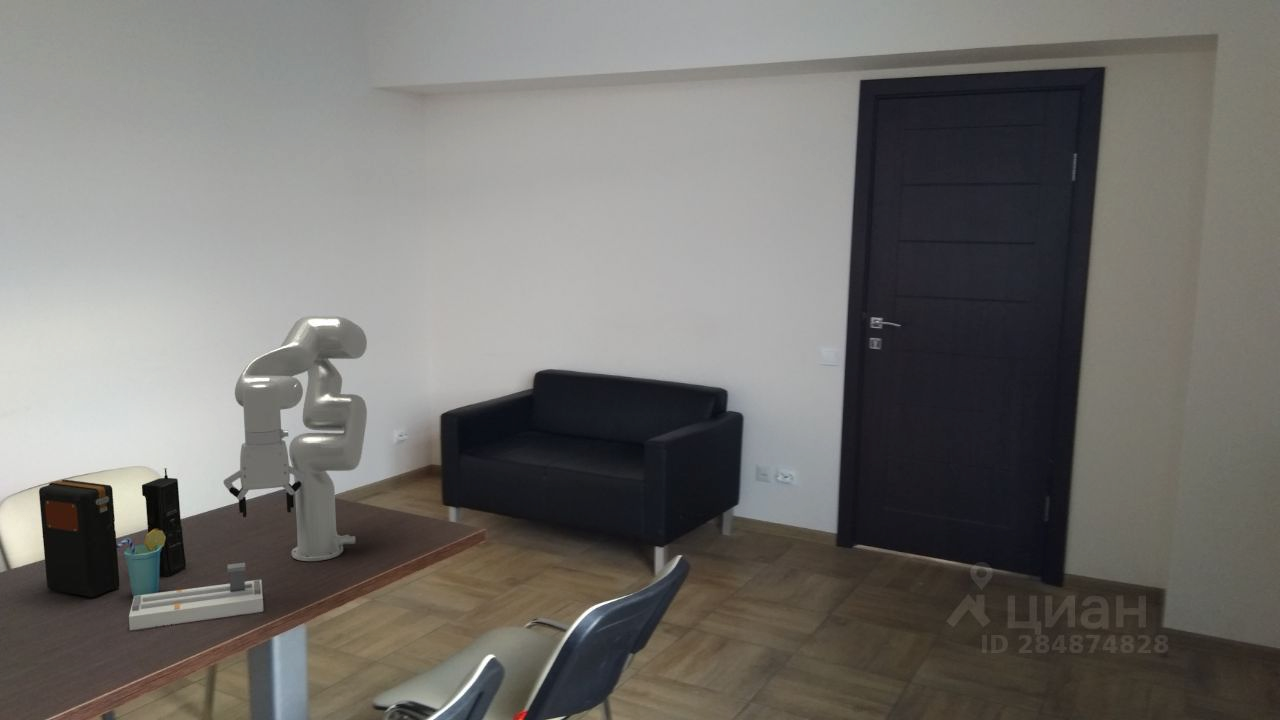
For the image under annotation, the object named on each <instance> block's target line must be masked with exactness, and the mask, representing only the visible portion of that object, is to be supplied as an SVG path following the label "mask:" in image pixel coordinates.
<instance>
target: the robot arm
mask: <svg viewBox="0 0 1280 720" xmlns="http://www.w3.org/2000/svg"><path fill="white" fill-rule="evenodd" d="M366 335H367V334H366V333H365V331H364V330H363V329H362V327H361V326H359V325H358V324H356V323H354V322H353V321H352V320H349V319H347V318H346V317H341V316H316V315H315V316H313V315H312V316H305V317H301V318H299V319H297V321H296V322H295V323H294V324H293V325H292V327H291V328H290V330H289V332H288V333H287V336H285V339H284V340H283V342H282V343H281V345H280V346H279V347H276V348H274V349H272V350H270V351H267V352H266V353H263V354H262V355H260V356H258V357H257V358H254V359H253V360H252V361H250V362H249V363H248V364H247V365H246V366H245V367H244V369H243V371H242V373H241V374H240V375H239V377H238V379H237V381H236V384H235V387H234V397H235V400H236V402H237V404H238V405H239V406H240V407H242V408H243V424H244V426H243V427H244V442H243V443H241V448H240V454H239V455H240V456H239V457H240V458H239V465H240V466H239V470H238V471H236V472H234V473H233V474H231V475H230V476H228V477H227V478H225V479H224V480H223V485H224V486H225V488H226V489H227V490H228V492H229V493H230V494H231V495H233V496H234V497H235V498H237V500H238V510H239V514H240V513H242V518H246V517H247V515H248V514H247V499H246V495H247V494H248V492H249V491H255V490H266V489H267V490H268V489H275V488H277V489H278V488H283V489H284V490H285V491H286V494H285V495H286V498H285V499H286V511H287V513H292V509H294V507H295V514H296V515H295V516H296V535H297V537H296V539H297V546H296V547H294V548H292V550H291V557H292V558H293V559H295V560H297V561H300V562H320V561H326V560H330V559H333V558H336V557H338V556H341V554H342V553H343V552H344V545H352V544H353V545H354V544H356V536H355V535H354V536H350V534H345V535H340V534H338V532H337V523H336V522H337V520H336V519H337V517H336V515H337V514H336V497H335V484H334V481H333V479H332V478H331V476H330V475H329V473H327V472H328V471H329V472H330V471H333V472H334V471H335V472H350V471H353V470H355V469H357V467H358V466H359V465H360V462H361V459H362V453H363V447H364V440H365V434H366V433H365V432H366V426H367V418H368V417H367V415H368V409H367V405H366V401H365V400H364V399H363V397H361V396H360V395H358V394H353V393H349V394H347V393H341V391H342V386H343V377H342V375H341V374H340V372H339V370H338V368H336V366H335V365H334V364H333V363H332V362H331V361H330V359H333V360H337V359H338V360H340V359H341V360H343V359H345V360H348V359H349V360H354V359H355V360H356V359H359V358H361V357H363V356H364V354H365V353H366V350H367V346H368V340H367V337H366ZM306 372H307V386H306V391H305V398H304V404H303V409H302V423H303V426H304V427H305V428H307V429H309V430H313V431H326V432H305V433H301V434H298V435H296V436H295V437H294V438H293V439H292V440H291V441H290V444H289V447H287V444H286V441H285V440H283V439H284V438H285V437H286V438H287V437H289V430H285V429H282V419H281V417H282V416H281V411H282V410H288V409H292V408H294V407H296V406H297V405H298V404H300V402H301V400H302V398H303V395H304V389H303V385H302V383H301V381H300V380H299V379H298V378H297V377H295V376H297V375H300V374H303V373H306ZM328 431H329V433H328ZM331 431H332V432H331ZM333 431H334V432H333ZM335 431H336V432H337V433H335ZM339 431H340V432H339ZM341 432H342V433H341ZM288 452H289V453H288ZM289 460H290V461H289ZM290 462H291V466H290ZM291 475H293V479H294V480H293V481H294V482H293V484H291V483H290V480H291V479H290V478H291ZM237 480H240V483H241V484H240V485H241V487H240V489H238V488H237V487H235V486H234V484H233V483H234V482H236V481H237ZM294 497H295V498H294ZM294 499H295V500H294ZM294 501H295V502H294ZM294 505H295V506H294Z"/></svg>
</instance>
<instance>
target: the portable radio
mask: <svg viewBox="0 0 1280 720" xmlns="http://www.w3.org/2000/svg"><path fill="white" fill-rule="evenodd" d="M167 469H168V468H164V476H163V477H161V478H156V479H154V480H152V481H149V482H146V483H143V484H142V485H141V492H142V495H141V496H143V497H144V498H145V506H146V507H145V509H146V523H147V534H148V533H150V532H151V531H152V530H153V529H154V530H162V531H163V533H164V534H165V536H166V540H165V544H164V546H163V547H162V548H161V552H160V569H159V577H166V576H168V577H170V576H171V575H173V574H175V573H177V572H180V571H181V570H184V569H185V568H186V567H187V563H186V562H187V561H186V556H185V546H184V537H183V536H184V535H183V534H184V533H183V527H182V521H181V519H182V518H181V509H180V506H181V505H180V491H179V482H178V481H179V480H178V478H173V477H168V475H167V473H168V472H167Z"/></svg>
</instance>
